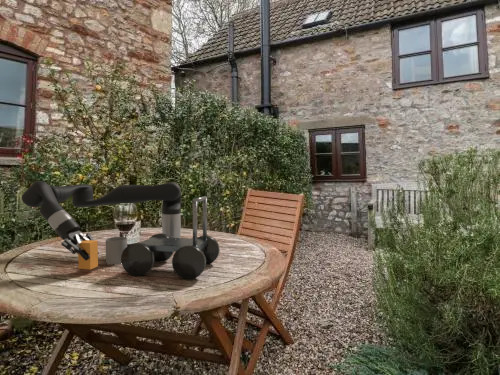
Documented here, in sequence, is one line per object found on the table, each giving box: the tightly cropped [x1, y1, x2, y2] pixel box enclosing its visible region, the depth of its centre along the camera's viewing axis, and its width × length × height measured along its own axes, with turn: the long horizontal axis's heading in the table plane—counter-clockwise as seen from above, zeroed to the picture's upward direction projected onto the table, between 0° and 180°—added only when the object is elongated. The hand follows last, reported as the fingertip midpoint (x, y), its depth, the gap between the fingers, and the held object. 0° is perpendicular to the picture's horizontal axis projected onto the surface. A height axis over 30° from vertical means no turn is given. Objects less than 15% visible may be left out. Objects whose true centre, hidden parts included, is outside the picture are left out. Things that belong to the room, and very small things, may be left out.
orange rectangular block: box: [77, 239, 99, 270], centre depth 123 cm, size 5×4×10 cm
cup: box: [105, 236, 128, 265], centre depth 137 cm, size 8×8×10 cm
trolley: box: [121, 195, 221, 281], centre depth 127 cm, size 32×21×29 cm
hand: (92, 256), depth 123 cm, fingers closed on orange rectangular block, 4 cm apart
